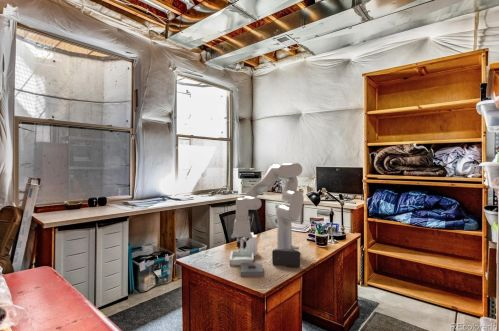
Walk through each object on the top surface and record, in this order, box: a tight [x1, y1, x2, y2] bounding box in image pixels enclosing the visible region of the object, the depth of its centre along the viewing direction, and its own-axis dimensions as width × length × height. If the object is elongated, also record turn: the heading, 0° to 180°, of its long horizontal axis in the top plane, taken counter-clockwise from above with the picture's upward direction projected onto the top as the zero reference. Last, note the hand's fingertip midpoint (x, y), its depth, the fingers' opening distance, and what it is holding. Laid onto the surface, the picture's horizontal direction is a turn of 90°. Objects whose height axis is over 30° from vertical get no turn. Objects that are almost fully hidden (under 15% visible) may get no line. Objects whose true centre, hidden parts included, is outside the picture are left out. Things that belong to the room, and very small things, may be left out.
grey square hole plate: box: [240, 262, 264, 277], centre depth 154 cm, size 12×12×3 cm
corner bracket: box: [242, 231, 258, 256], centre depth 187 cm, size 11×11×12 cm
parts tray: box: [229, 250, 255, 266], centre depth 171 cm, size 14×16×4 cm
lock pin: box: [238, 238, 244, 255], centre depth 170 cm, size 3×3×9 cm
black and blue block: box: [271, 248, 301, 268], centre depth 164 cm, size 16×5×9 cm, turn 78°
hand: (241, 247), depth 170 cm, fingers closed on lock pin, 3 cm apart
